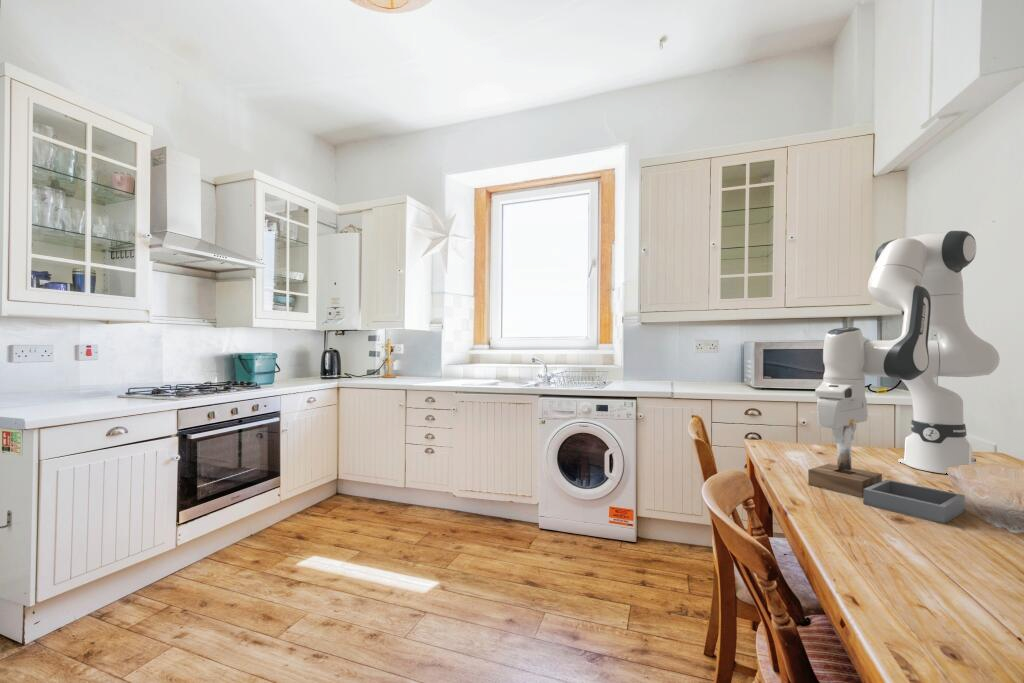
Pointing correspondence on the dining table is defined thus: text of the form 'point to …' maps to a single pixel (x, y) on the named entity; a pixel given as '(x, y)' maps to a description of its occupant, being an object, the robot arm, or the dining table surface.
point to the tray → (915, 500)
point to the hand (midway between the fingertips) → (844, 441)
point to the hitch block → (842, 479)
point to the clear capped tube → (845, 449)
